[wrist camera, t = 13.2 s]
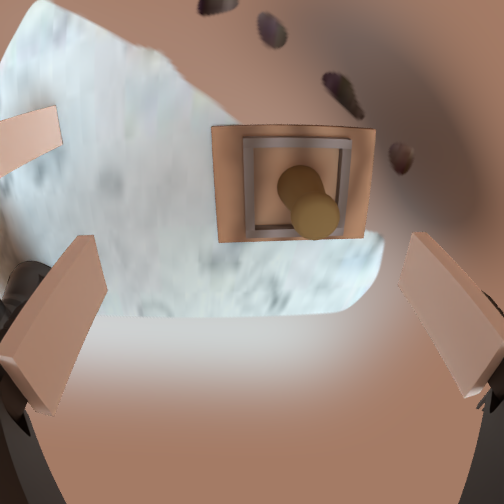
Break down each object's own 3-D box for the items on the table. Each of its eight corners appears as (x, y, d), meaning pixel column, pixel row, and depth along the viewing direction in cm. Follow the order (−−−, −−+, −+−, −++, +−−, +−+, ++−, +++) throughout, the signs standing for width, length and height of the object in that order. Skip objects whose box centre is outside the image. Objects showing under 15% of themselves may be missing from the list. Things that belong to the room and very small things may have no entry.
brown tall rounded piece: (302, 216, 43) (320, 259, 33) (267, 191, 41) (276, 228, 31) (331, 183, 41) (359, 217, 31) (296, 155, 39) (316, 182, 29)
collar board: (219, 239, 45) (218, 248, 43) (211, 126, 37) (210, 129, 35) (361, 235, 46) (366, 243, 44) (373, 128, 38) (380, 131, 36)
